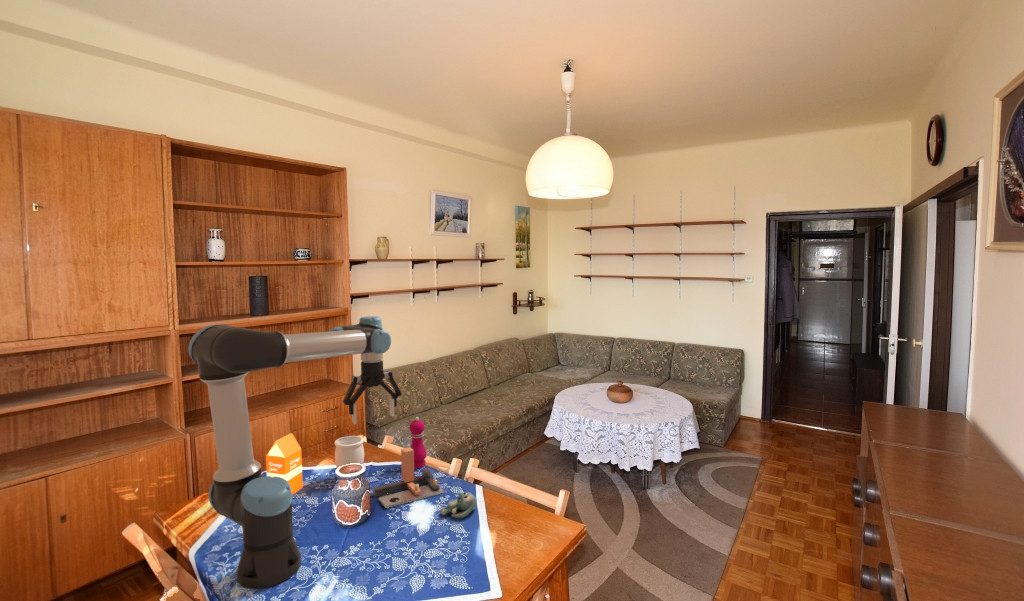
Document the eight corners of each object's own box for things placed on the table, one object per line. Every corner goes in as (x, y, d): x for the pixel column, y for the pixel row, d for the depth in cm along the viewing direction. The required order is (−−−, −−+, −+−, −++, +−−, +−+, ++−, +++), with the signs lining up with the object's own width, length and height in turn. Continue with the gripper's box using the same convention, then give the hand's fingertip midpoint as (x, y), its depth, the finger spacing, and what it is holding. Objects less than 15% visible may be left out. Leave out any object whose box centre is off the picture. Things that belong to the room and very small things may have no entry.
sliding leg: (423, 493, 168) (422, 458, 167) (413, 495, 167) (413, 460, 166) (410, 480, 178) (410, 447, 177) (401, 482, 176) (401, 449, 175)
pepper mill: (430, 465, 195) (429, 416, 193) (415, 471, 190) (414, 421, 188) (419, 460, 200) (418, 412, 198) (404, 465, 195) (404, 417, 193)
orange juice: (267, 496, 169) (265, 440, 167) (284, 485, 178) (282, 431, 176) (286, 498, 167) (284, 442, 166) (303, 487, 176) (301, 433, 174)
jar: (370, 477, 184) (369, 438, 183) (348, 488, 175) (347, 447, 174) (352, 470, 190) (351, 433, 189) (329, 480, 181) (328, 441, 180)
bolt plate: (443, 493, 172) (443, 490, 172) (385, 509, 160) (385, 506, 160) (435, 485, 178) (435, 482, 177) (378, 500, 166) (378, 497, 166)
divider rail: (443, 490, 173) (443, 478, 173) (382, 507, 161) (382, 494, 161) (431, 479, 182) (431, 468, 182) (372, 494, 170) (372, 482, 170)
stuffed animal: (434, 492, 161) (469, 480, 165) (439, 512, 162) (473, 499, 166) (442, 507, 151) (478, 494, 155) (446, 528, 152) (482, 514, 156)
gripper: (401, 354, 180) (403, 410, 182) (332, 363, 166) (334, 423, 168) (409, 357, 174) (411, 415, 176) (338, 366, 160) (340, 429, 162)
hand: (373, 419), depth 172 cm, fingers open, 13 cm apart
